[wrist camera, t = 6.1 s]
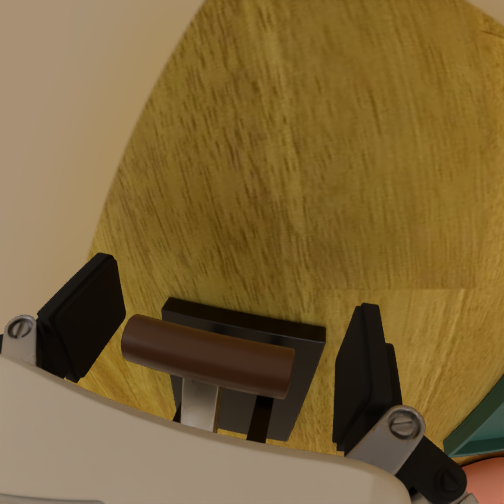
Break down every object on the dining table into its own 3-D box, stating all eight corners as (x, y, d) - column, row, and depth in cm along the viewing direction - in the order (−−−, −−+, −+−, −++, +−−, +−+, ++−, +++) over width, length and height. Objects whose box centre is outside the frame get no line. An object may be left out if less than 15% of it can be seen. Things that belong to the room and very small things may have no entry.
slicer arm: (148, 303, 10) (112, 329, 8) (296, 334, 10) (294, 373, 8) (155, 510, 13) (140, 539, 11) (241, 533, 12) (233, 565, 10)
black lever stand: (168, 296, 18) (52, 495, 7) (326, 327, 17) (302, 573, 6) (182, 406, 24) (128, 539, 13) (289, 429, 23) (260, 574, 12)
